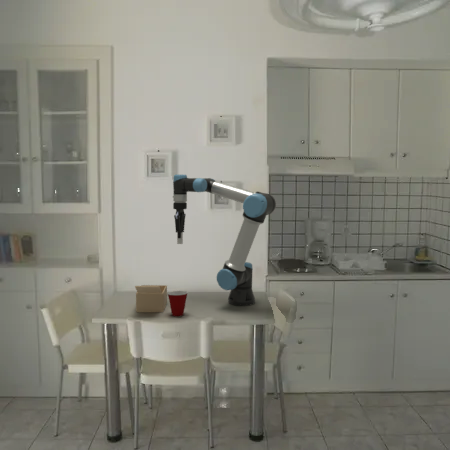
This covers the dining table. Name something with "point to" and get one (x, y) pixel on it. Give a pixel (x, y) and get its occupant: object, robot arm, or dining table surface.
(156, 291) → the flap
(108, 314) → the dining table surface
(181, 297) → the plastic cup
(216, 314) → the dining table surface
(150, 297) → the carton
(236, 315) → the dining table surface
